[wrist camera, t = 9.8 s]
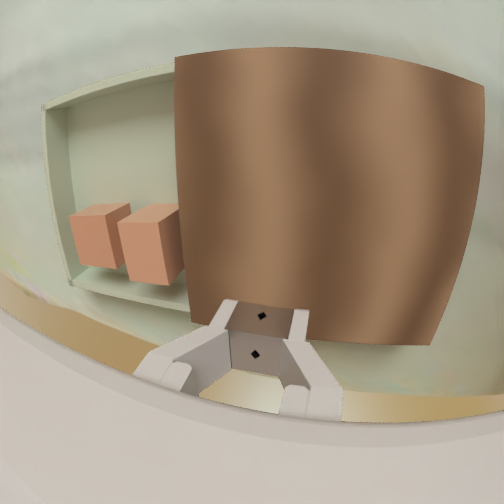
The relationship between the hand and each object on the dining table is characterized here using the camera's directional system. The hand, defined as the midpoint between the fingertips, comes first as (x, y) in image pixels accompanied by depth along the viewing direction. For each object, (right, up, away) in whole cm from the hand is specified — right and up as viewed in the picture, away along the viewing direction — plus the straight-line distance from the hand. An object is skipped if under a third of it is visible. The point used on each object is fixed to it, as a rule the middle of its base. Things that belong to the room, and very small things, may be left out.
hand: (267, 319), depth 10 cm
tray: (-10, +7, +10) cm, 16 cm away
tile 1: (-12, +3, +8) cm, 15 cm away
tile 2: (-8, +3, +8) cm, 12 cm away
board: (+4, +6, +7) cm, 10 cm away
